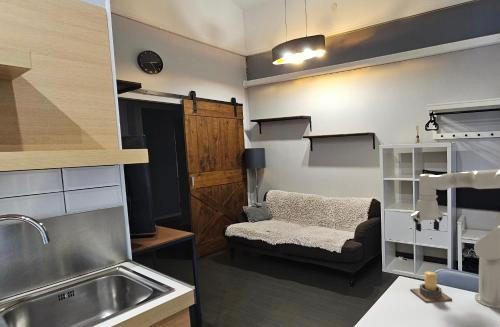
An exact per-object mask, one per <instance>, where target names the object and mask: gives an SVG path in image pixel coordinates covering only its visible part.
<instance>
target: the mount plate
mask: <svg viewBox="0 0 500 327" xmlns="http://www.w3.org/2000/svg"><path fill="white" fill-rule="evenodd" d="M410 292H411V293H413V294H414V295H415V296H417V298H419V299H420V300H421V301H423V302H424V303H435V302H439V303H440V302H449V301H453V298H452V297H450V296H448V295H447V294H445V293H444V292H443V290H442V288H441V287H440V286H438V285H437V291H429V290H426V289H425V283H421V284H419V288H410Z"/></svg>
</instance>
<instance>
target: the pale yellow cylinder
mask: <svg viewBox="0 0 500 327" xmlns="http://www.w3.org/2000/svg"><path fill="white" fill-rule="evenodd" d="M437 278H438V275H437V273H436V272H434V271H424V284H425V289H426V290H429V291H437V286H438V284H437V283H438V282H437Z"/></svg>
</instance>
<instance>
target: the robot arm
mask: <svg viewBox="0 0 500 327" xmlns="http://www.w3.org/2000/svg"><path fill="white" fill-rule="evenodd" d="M418 177H419V178H418V179H419V180H418V181H419V182H418V185H419V186H418V187H419V188H418V198H419V199H418V200H417V201H416V205H415V212H414V213H412V214H410V216H411V219H412V221H413V222H414V223H415V229H416V230H415V231H417V232H422V224H421V223H422V222H423V221H431V220H433V230H435V231H439V230H440V223H441V221H442V220H443V217H444V216H445V214H444V212H441V211H439V204H438V201H437V198H438V197H439V196H438V195H437V190H439V191H446V190H449V189H453V188H454V189H455V188H473V189H477V190H484V189H485V190H486V189H487V190H488V189H500V168H496V169H483V170H472V171H465V172H464V171H463V172H449V173H443V174H438V175H435V174H434V173H433V174H432V173H422V174H420V175H419V176H418ZM473 249H474V250H473V251H474V253H475V255H476V256H477V257H478V258H479V259H478V293H475V294H474V300H475V301H476V302H477V303H479V304H481V305H483V306H484V307H488V308H491V309H492V308H493V309H497V308H500V224H499V225H498V226H497V227H495V228H494V229H492V230H491V231H490V232H488V233H486V234H484V235H482V236H481V237H480V238H479V239H478V240H476V242H475V243H474V246H473Z"/></svg>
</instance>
